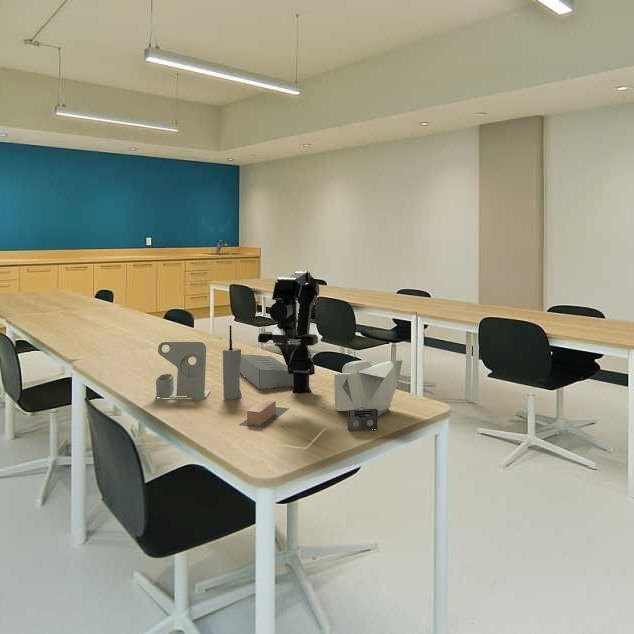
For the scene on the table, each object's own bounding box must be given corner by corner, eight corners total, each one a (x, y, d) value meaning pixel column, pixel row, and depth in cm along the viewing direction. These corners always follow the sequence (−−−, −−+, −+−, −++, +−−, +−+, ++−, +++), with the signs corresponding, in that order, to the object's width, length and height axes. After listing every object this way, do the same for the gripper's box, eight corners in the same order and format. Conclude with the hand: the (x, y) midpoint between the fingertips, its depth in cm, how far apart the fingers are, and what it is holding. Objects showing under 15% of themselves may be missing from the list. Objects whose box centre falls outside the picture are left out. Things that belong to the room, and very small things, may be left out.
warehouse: (296, 386, 209) (296, 366, 208) (259, 390, 203) (259, 369, 202) (270, 369, 236) (270, 351, 235) (237, 372, 231) (237, 354, 230)
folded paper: (329, 358, 174) (368, 373, 161) (384, 350, 189) (424, 363, 176) (326, 411, 177) (363, 430, 164) (380, 398, 192) (419, 414, 179)
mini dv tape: (376, 428, 162) (376, 408, 161) (377, 430, 160) (377, 409, 160) (347, 429, 161) (348, 409, 160) (348, 431, 159) (349, 410, 158)
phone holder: (153, 399, 190) (152, 346, 187) (161, 391, 200) (159, 341, 197) (206, 399, 190) (205, 346, 188) (210, 391, 200) (209, 341, 198)
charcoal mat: (265, 407, 182) (265, 405, 182) (289, 409, 179) (289, 408, 179) (238, 426, 163) (238, 425, 163) (264, 429, 160) (264, 427, 160)
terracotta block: (263, 399, 174) (246, 410, 163) (275, 400, 173) (259, 412, 162) (263, 412, 175) (247, 424, 164) (275, 413, 174) (259, 425, 162)
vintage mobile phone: (241, 397, 192) (240, 324, 189) (231, 401, 188) (230, 326, 185) (233, 396, 194) (232, 323, 191) (223, 399, 190) (222, 325, 187)
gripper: (250, 318, 177) (251, 367, 179) (307, 321, 171) (307, 372, 173) (264, 314, 187) (264, 360, 190) (318, 317, 182) (318, 364, 184)
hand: (287, 364), depth 184 cm, fingers closed
